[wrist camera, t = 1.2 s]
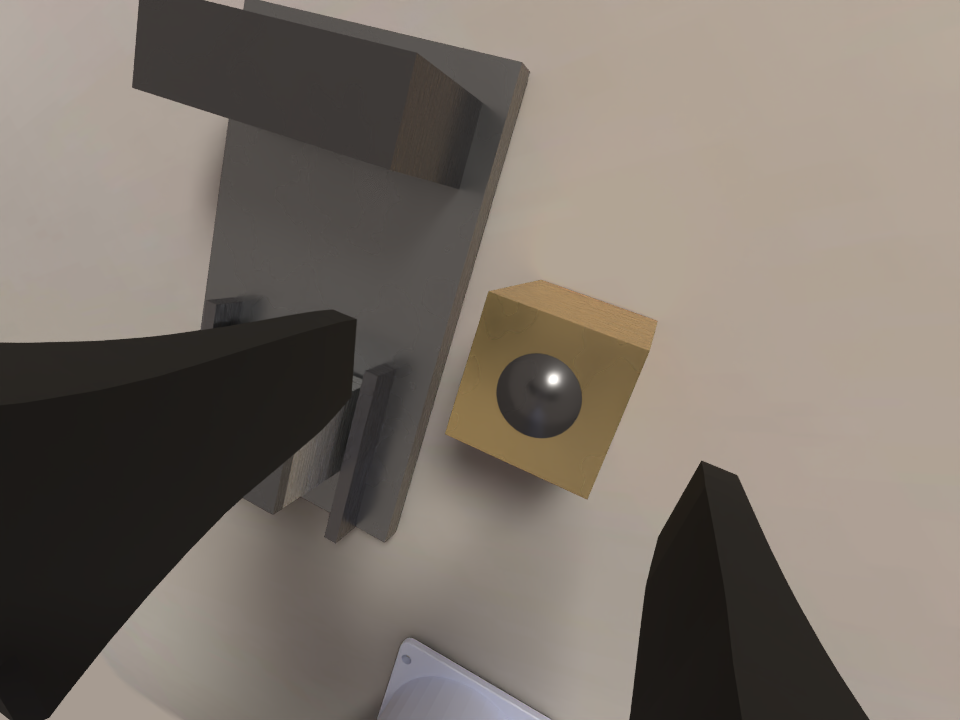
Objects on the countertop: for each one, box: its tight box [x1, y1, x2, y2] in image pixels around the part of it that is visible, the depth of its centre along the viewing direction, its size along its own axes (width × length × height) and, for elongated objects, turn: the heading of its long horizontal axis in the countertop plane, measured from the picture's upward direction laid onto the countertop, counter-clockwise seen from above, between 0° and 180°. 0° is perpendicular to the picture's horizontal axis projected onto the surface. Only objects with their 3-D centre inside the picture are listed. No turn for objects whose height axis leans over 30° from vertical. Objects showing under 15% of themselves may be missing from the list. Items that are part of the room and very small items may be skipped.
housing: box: [445, 280, 658, 499], centre depth 17 cm, size 4×4×6 cm
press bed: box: [132, 0, 530, 543], centre depth 20 cm, size 20×12×6 cm, turn 162°
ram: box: [243, 376, 362, 514], centre depth 21 cm, size 4×7×5 cm, turn 72°
